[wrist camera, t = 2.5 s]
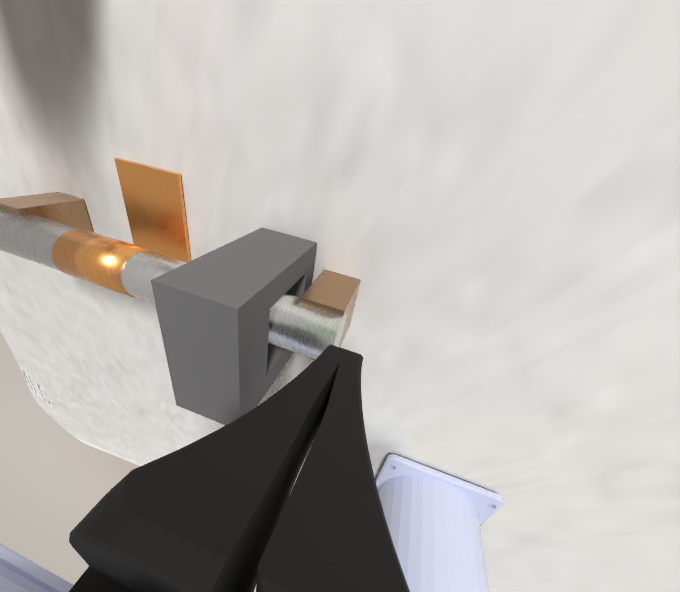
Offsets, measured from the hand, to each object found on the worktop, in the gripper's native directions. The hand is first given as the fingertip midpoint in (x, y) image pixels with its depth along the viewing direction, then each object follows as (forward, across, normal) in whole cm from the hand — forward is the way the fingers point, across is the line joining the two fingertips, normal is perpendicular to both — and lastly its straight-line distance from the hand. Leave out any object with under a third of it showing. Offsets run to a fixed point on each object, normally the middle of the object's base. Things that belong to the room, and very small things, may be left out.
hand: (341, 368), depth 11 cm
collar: (+5, +5, 0) cm, 7 cm away
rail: (+5, +11, 0) cm, 12 cm away
